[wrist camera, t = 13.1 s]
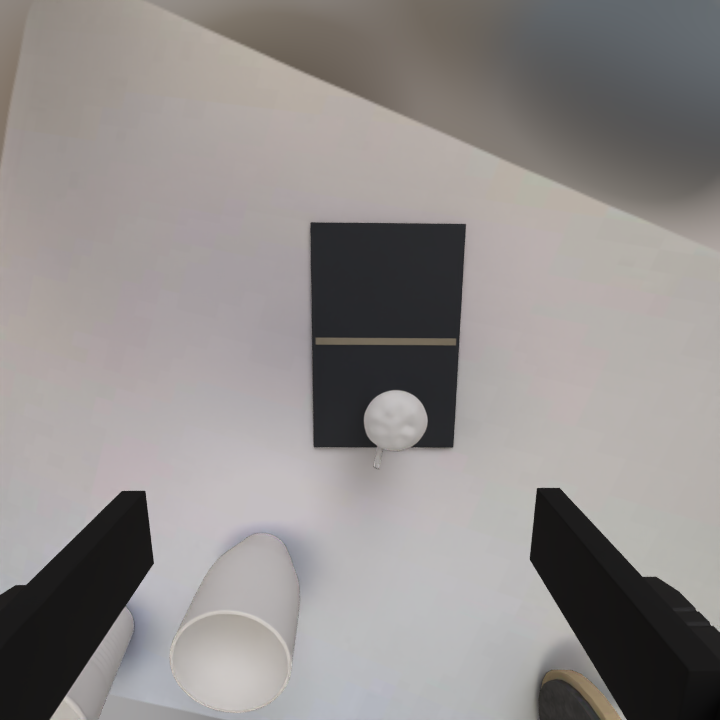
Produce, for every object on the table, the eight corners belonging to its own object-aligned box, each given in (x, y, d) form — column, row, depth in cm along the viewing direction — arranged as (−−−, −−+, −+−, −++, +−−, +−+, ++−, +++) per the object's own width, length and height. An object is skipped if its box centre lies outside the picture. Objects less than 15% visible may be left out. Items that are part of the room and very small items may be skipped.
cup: (171, 604, 43) (110, 715, 32) (130, 674, 45) (59, 801, 34) (79, 561, 42) (-15, 661, 31) (41, 634, 44) (-61, 753, 33)
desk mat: (311, 223, 36) (310, 222, 35) (464, 224, 36) (466, 223, 36) (314, 445, 40) (313, 447, 39) (452, 445, 40) (453, 447, 40)
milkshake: (348, 407, 39) (346, 453, 29) (377, 357, 38) (385, 386, 28) (391, 430, 39) (404, 483, 29) (421, 381, 38) (444, 418, 29)
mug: (230, 505, 41) (180, 599, 29) (318, 527, 42) (304, 628, 30) (205, 606, 43) (149, 730, 32) (289, 625, 44) (265, 755, 32)
